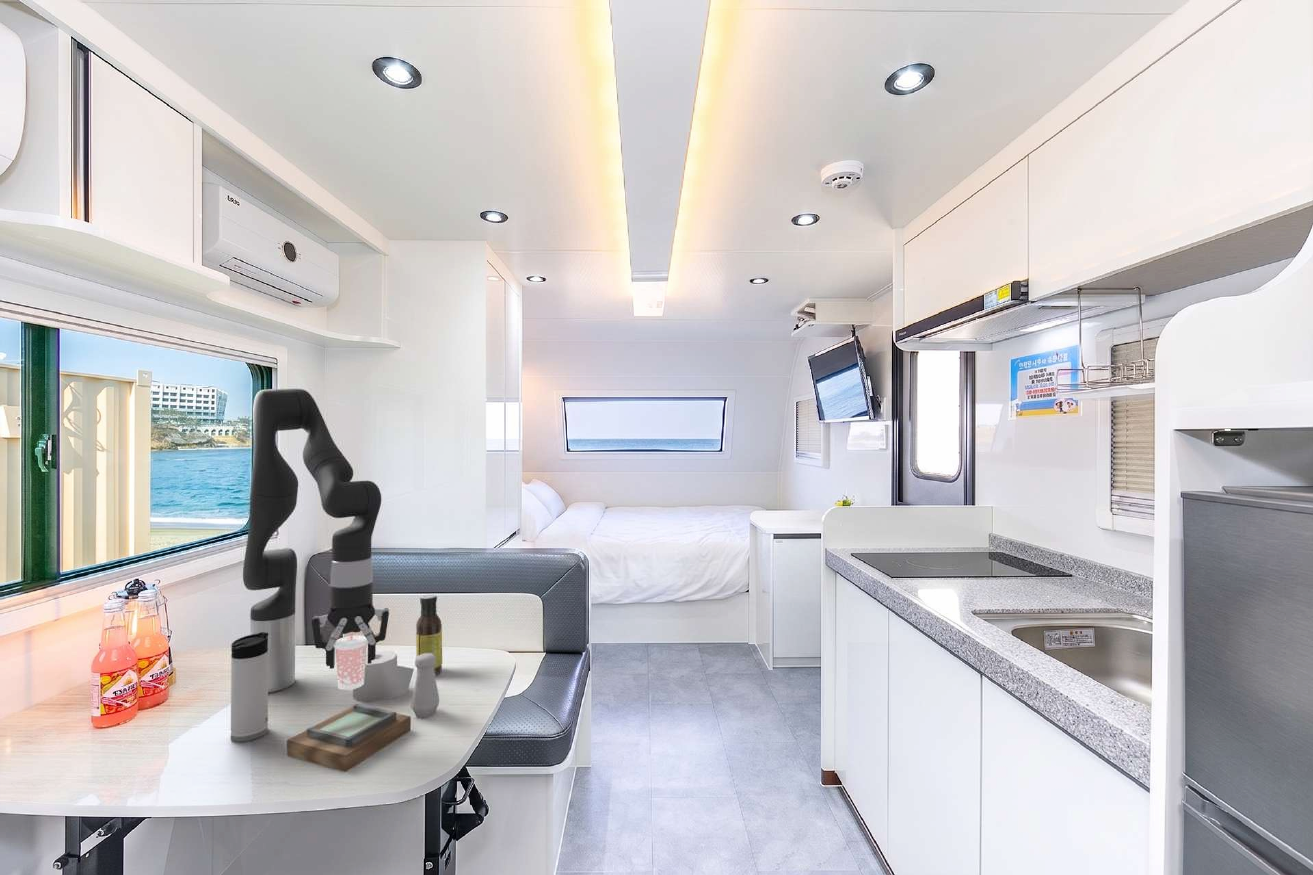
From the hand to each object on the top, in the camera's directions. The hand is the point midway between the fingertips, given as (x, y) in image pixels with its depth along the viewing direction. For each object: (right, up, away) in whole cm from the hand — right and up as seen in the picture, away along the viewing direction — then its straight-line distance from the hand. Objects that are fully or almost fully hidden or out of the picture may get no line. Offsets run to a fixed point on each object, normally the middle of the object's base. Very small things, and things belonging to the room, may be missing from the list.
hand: (351, 664), depth 117 cm
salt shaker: (+10, -16, +12) cm, 22 cm away
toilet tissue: (-5, -16, +23) cm, 28 cm away
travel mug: (-22, -16, +3) cm, 27 cm away
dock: (0, -16, 0) cm, 16 cm away
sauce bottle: (+2, -16, +34) cm, 38 cm away
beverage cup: (0, -4, 0) cm, 4 cm away
